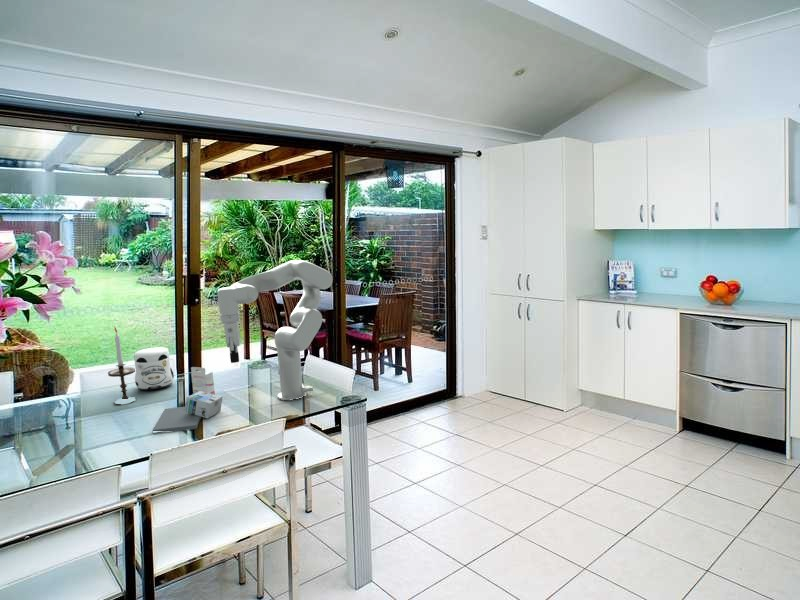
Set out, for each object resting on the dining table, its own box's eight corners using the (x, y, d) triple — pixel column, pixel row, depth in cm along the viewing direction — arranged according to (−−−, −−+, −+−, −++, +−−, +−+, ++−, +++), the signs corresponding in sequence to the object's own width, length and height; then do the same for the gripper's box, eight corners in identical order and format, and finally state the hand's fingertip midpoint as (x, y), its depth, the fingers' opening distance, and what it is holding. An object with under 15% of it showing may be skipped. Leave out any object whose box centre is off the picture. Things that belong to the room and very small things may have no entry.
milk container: (151, 394, 263) (146, 357, 260) (128, 390, 272) (123, 353, 269) (182, 384, 278) (178, 348, 275) (159, 380, 287) (155, 345, 284)
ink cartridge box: (215, 396, 257) (212, 365, 254) (208, 400, 252) (205, 368, 250) (200, 394, 260) (197, 364, 257) (193, 398, 255) (189, 367, 253)
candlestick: (121, 407, 248) (111, 329, 242) (106, 403, 253) (96, 327, 247) (143, 399, 257) (134, 324, 251) (128, 396, 262) (119, 322, 257)
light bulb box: (210, 403, 226) (186, 396, 228) (207, 419, 227) (183, 412, 229) (223, 396, 237) (199, 390, 238) (220, 411, 238) (197, 405, 239)
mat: (204, 407, 242) (204, 404, 242) (196, 428, 219) (196, 425, 218) (165, 412, 239) (164, 408, 239) (152, 433, 216) (152, 430, 215)
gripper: (238, 320, 220) (243, 366, 223) (241, 313, 235) (245, 356, 238) (218, 322, 219) (223, 368, 222) (222, 315, 233) (227, 358, 236)
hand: (235, 361), depth 230 cm, fingers closed
